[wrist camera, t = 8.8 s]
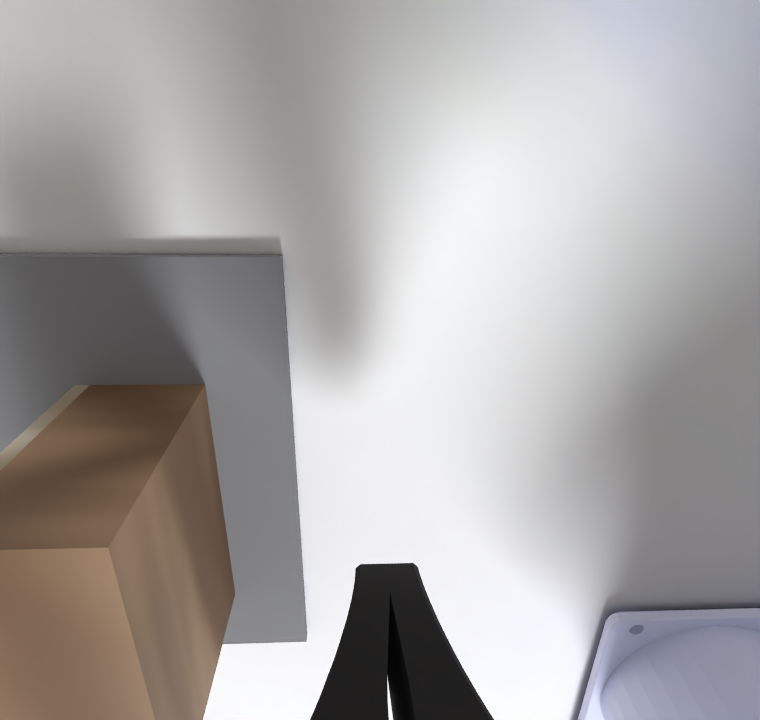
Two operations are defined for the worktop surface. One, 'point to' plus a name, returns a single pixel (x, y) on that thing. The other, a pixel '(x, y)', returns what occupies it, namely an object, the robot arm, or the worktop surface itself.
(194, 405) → the brown wooden block
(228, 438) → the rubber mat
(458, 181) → the worktop surface
